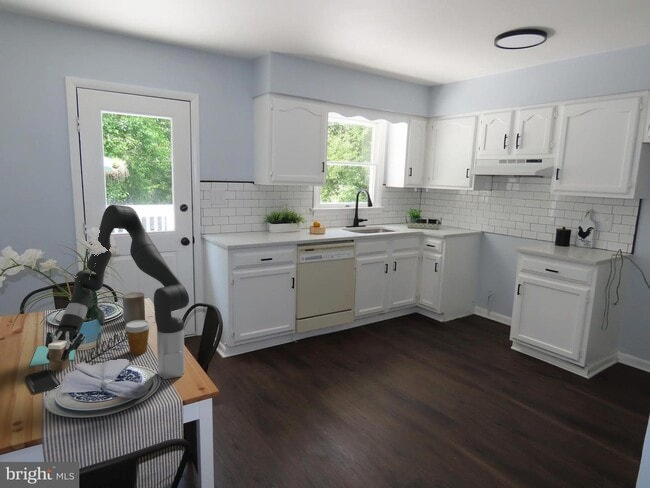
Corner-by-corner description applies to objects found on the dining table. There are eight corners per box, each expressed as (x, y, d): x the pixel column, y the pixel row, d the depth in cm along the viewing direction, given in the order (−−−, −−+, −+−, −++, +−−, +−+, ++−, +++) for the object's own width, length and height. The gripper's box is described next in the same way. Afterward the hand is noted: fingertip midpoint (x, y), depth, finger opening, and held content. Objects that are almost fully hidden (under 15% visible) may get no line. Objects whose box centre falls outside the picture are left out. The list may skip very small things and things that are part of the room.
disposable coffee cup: (142, 344, 177) (141, 318, 175) (155, 350, 172) (155, 323, 170) (121, 351, 169) (119, 324, 167) (134, 358, 164) (132, 329, 162)
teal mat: (73, 360, 160) (73, 359, 160) (29, 366, 154) (29, 365, 154) (77, 342, 176) (77, 341, 176) (37, 347, 169) (37, 346, 169)
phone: (50, 369, 151) (61, 384, 141) (50, 371, 151) (61, 387, 141) (23, 375, 146) (33, 392, 135) (24, 378, 146) (33, 395, 136)
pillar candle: (149, 319, 206) (148, 290, 204) (136, 326, 197) (135, 295, 195) (132, 317, 208) (131, 288, 206) (119, 323, 199) (117, 293, 197)
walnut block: (69, 365, 156) (68, 340, 154) (62, 371, 152) (60, 345, 150) (57, 365, 156) (56, 340, 154) (49, 370, 152) (48, 344, 150)
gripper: (50, 312, 158) (30, 355, 148) (87, 313, 158) (70, 357, 148) (60, 320, 164) (41, 362, 154) (96, 322, 164) (80, 364, 154)
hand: (56, 359), depth 151 cm, fingers closed on walnut block, 4 cm apart
